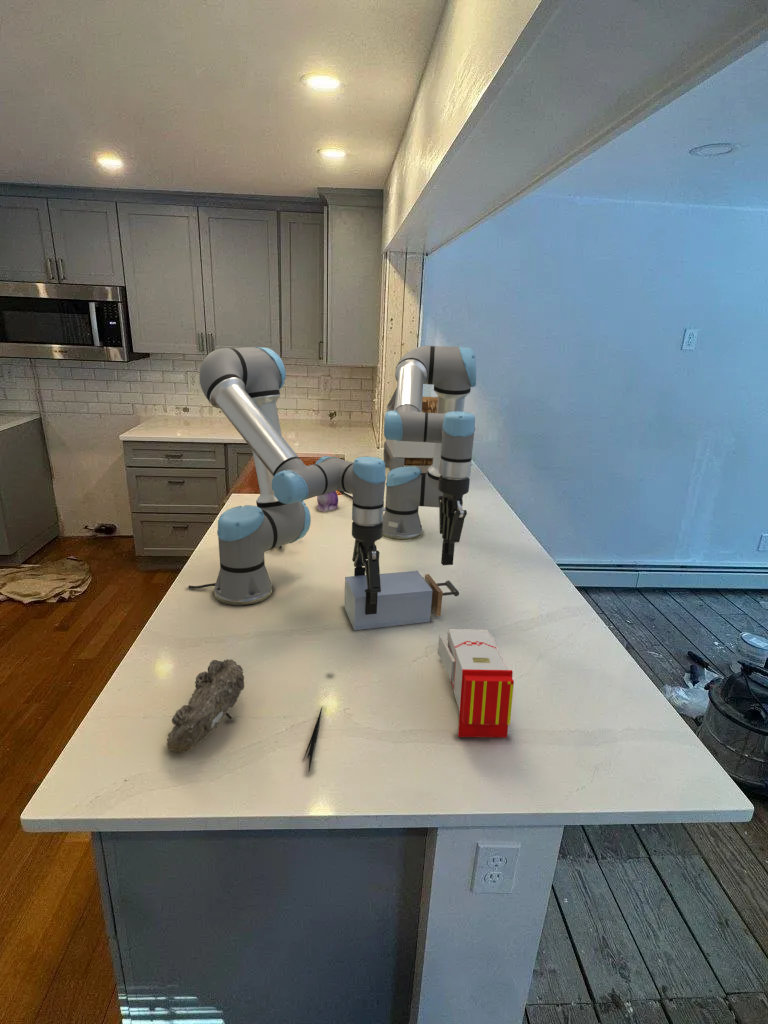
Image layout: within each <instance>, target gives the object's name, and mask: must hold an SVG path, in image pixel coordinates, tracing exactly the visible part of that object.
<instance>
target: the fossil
mask: <svg viewBox="0 0 768 1024" xmlns="http://www.w3.org/2000/svg"><path fill="white" fill-rule="evenodd" d="M243 670H244V669H243V667H242V665H240V664H237V662H236V661H235V660H234V659H232V658H231V659H227V658H226V659H224V660H223V661H222V660H217V659H212V660H211V661H210V663H209V665H208V666H207V671H201V672H199V673H198V674H197V675H196V676H195V680H194V684H195V685H194V687H195V689H194V690H193V693H192V694H191V697H190V698H189V700H188V704H184V705H182V706H181V707H180V709H177V710H176V711H175V713H174V715H173V716H172V718H171V723H172V724H173V727H172V730H171V731H170V732H168V734H167V738H166V741H167V742H166V745H167V749H168V750H169V751H173V752H174V753H176V754H178V753H182V752H188V751H189V752H192V751H193V750H195V748H196V747H197V746H199V744H200V743H201V742H203V741H204V740H205V739H206V738H207V737H208V736H209V735H210V734H211V733H212V732H214V730H215V729H217V727H218V726H219V724H220V722H221V721H222V720H223V719H224V718H225V716H226V717H227V719H229V720H233V717H232V715H230V714H229V710H230V709H231V708H234V706H235V704H236V703H237V702H238V699H239V697H240V695H241V693H242V691H243V690H245V689H244V688H245V675H244V671H243Z"/></svg>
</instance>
